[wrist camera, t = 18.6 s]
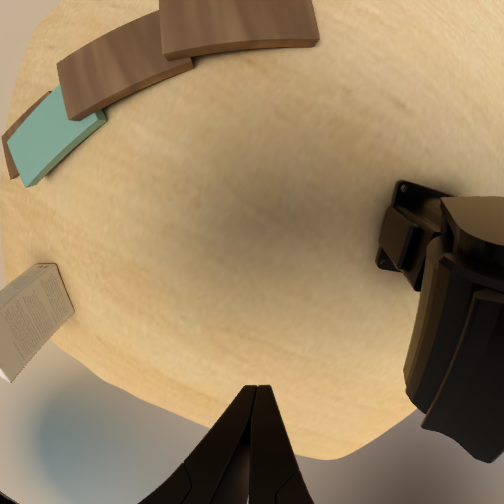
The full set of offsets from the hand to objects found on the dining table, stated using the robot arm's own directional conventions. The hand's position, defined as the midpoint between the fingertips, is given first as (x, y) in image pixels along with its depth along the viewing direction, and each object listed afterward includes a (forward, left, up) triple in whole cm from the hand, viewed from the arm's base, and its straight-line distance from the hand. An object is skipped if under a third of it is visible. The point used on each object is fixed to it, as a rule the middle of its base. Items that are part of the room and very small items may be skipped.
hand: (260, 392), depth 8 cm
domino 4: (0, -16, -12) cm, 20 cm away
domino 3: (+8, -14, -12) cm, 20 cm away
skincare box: (+23, +9, -13) cm, 27 cm away
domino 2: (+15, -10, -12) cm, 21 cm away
